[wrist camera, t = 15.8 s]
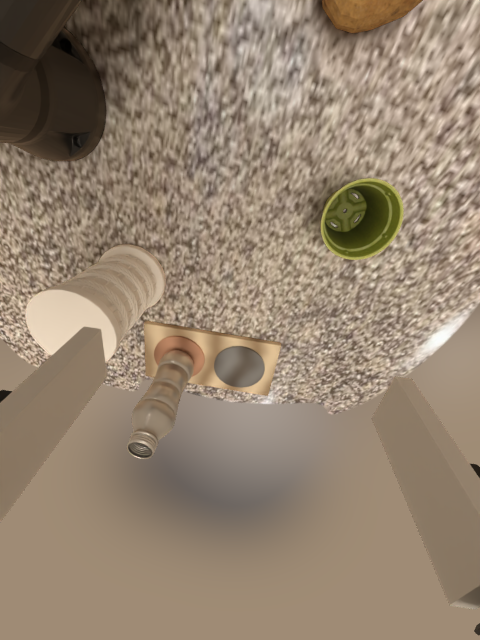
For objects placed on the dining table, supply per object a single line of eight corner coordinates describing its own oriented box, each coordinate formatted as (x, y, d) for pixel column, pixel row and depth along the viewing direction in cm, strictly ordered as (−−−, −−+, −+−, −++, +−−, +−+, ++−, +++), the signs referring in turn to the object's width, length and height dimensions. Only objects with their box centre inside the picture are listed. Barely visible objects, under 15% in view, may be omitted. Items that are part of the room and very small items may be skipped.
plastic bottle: (182, 377, 57) (145, 471, 40) (156, 357, 55) (106, 446, 38) (203, 361, 55) (174, 454, 37) (177, 339, 52) (133, 427, 35)
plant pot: (349, 253, 44) (367, 272, 36) (298, 224, 42) (305, 238, 35) (391, 196, 39) (421, 204, 32) (336, 161, 38) (354, 161, 30)
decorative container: (114, 309, 52) (50, 372, 37) (90, 248, 47) (2, 291, 31) (173, 303, 51) (132, 366, 35) (155, 239, 45) (97, 281, 29)
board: (147, 372, 59) (144, 377, 58) (146, 320, 53) (142, 324, 51) (267, 392, 59) (267, 397, 58) (280, 342, 53) (281, 347, 52)
